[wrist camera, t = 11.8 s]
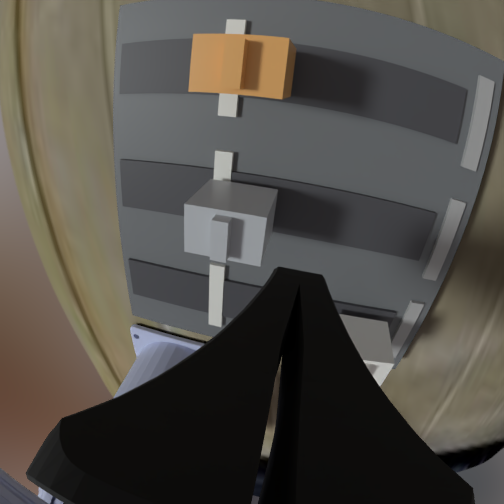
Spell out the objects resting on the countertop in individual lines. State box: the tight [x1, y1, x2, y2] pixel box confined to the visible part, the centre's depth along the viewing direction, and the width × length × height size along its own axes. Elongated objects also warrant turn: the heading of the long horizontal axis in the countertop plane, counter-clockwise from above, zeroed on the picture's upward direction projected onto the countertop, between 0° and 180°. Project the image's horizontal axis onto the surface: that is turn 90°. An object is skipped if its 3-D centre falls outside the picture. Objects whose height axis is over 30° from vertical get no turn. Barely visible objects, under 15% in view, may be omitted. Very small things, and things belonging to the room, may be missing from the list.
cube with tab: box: [339, 314, 394, 386], centre depth 15 cm, size 2×3×4 cm, turn 84°
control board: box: [113, 0, 504, 369], centre depth 15 cm, size 19×18×1 cm
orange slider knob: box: [188, 34, 296, 99], centre depth 9 cm, size 2×3×4 cm, turn 84°
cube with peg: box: [184, 179, 278, 267], centre depth 12 cm, size 2×3×4 cm, turn 85°
